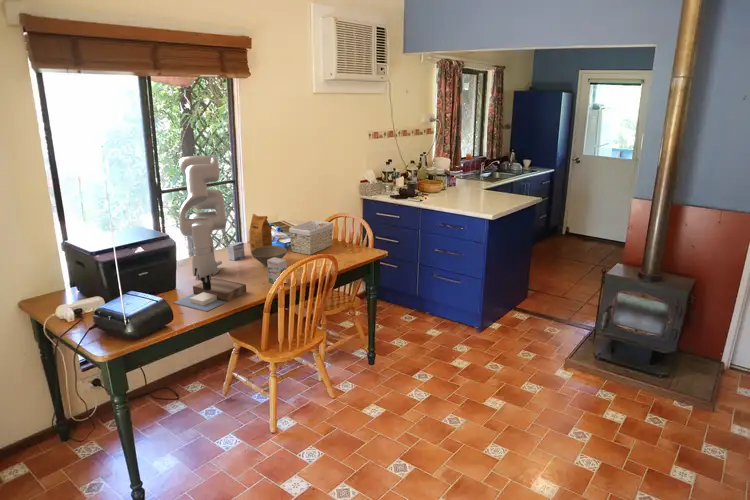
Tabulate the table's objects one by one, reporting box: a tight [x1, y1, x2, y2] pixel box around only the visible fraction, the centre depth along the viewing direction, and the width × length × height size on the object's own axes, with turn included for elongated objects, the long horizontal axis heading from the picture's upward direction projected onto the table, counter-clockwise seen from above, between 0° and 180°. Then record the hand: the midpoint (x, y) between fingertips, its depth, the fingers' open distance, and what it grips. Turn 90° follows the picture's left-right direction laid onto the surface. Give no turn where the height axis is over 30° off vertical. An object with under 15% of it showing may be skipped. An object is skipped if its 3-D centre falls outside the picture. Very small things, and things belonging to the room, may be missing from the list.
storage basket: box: [288, 219, 334, 256], centre depth 304 cm, size 24×16×15 cm
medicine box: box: [227, 241, 246, 262], centre depth 288 cm, size 8×4×9 cm, turn 148°
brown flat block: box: [192, 277, 247, 303], centre depth 239 cm, size 13×20×4 cm, turn 62°
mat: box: [173, 293, 227, 313], centre depth 229 cm, size 11×20×1 cm, turn 62°
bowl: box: [250, 245, 288, 266], centre depth 278 cm, size 18×18×8 cm
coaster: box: [190, 292, 217, 306], centre depth 230 cm, size 8×8×2 cm
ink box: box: [267, 257, 288, 284], centre depth 251 cm, size 8×5×12 cm, turn 55°
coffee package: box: [249, 213, 273, 253], centre depth 298 cm, size 10×12×22 cm
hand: (207, 289), depth 232 cm, fingers closed
